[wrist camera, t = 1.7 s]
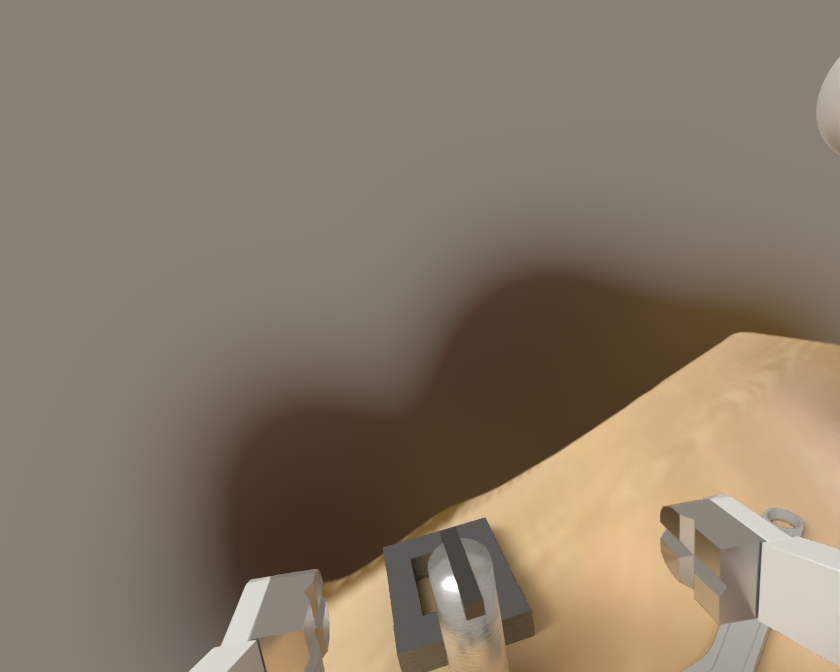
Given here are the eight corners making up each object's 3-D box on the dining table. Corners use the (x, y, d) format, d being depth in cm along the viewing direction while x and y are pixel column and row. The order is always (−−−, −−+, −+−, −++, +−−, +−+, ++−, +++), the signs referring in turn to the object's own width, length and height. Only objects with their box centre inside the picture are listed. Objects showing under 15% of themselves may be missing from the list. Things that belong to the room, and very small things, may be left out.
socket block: (488, 538, 40) (485, 517, 39) (534, 635, 31) (531, 610, 30) (388, 568, 39) (383, 547, 38) (404, 679, 29) (397, 654, 29)
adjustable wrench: (765, 516, 37) (766, 500, 37) (868, 557, 32) (871, 539, 32) (619, 747, 24) (618, 727, 24) (754, 878, 19) (757, 856, 18)
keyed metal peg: (500, 671, 29) (475, 520, 25) (532, 759, 24) (507, 591, 20) (453, 687, 28) (419, 537, 24) (475, 781, 24) (438, 613, 20)
